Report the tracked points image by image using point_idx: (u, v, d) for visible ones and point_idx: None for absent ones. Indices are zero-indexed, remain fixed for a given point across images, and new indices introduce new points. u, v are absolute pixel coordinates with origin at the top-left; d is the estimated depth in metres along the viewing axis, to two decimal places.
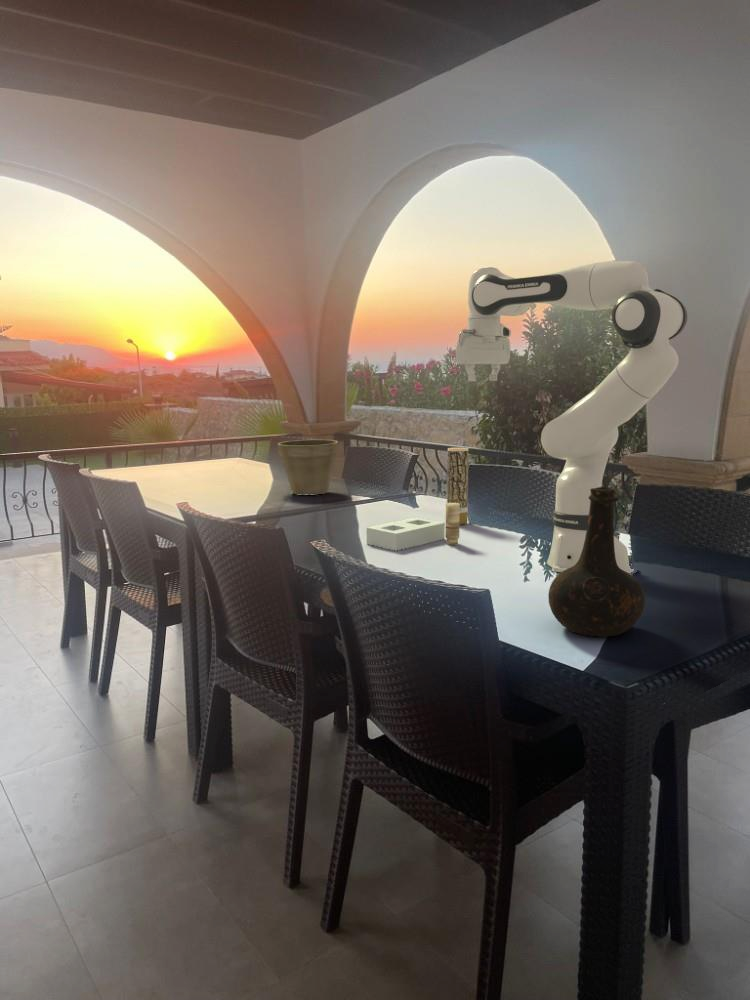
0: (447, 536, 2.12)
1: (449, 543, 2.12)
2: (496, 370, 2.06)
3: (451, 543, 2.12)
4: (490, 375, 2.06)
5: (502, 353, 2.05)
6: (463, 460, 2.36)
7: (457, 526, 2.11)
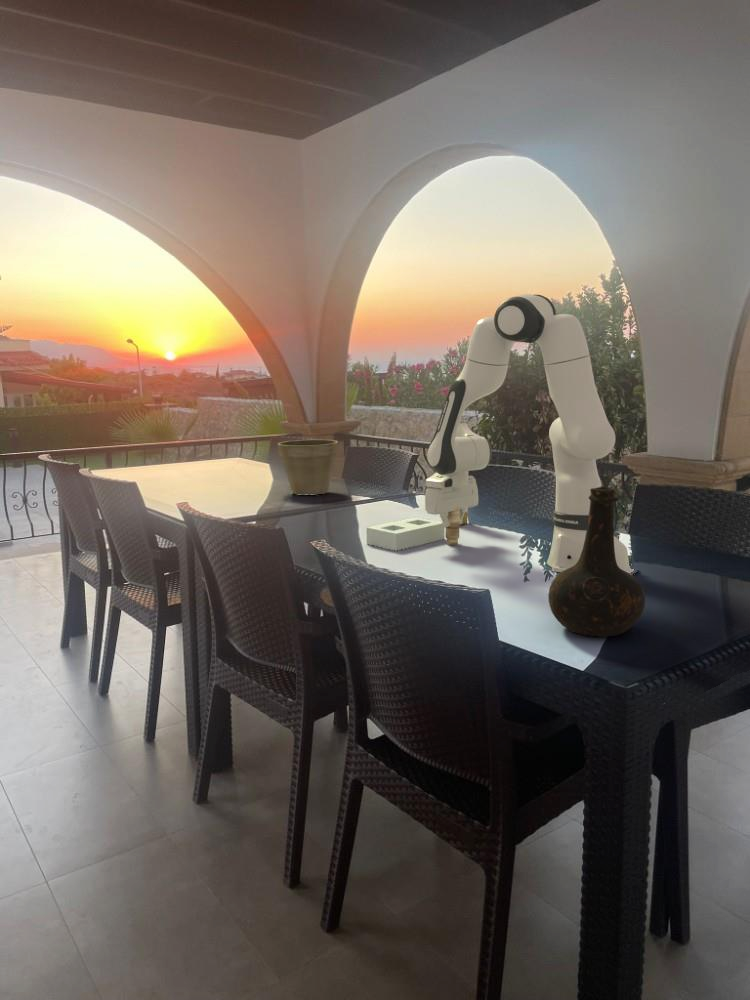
0: (447, 536, 2.12)
1: (449, 543, 2.12)
2: None
3: (451, 543, 2.12)
4: None
5: None
6: None
7: (457, 526, 2.11)
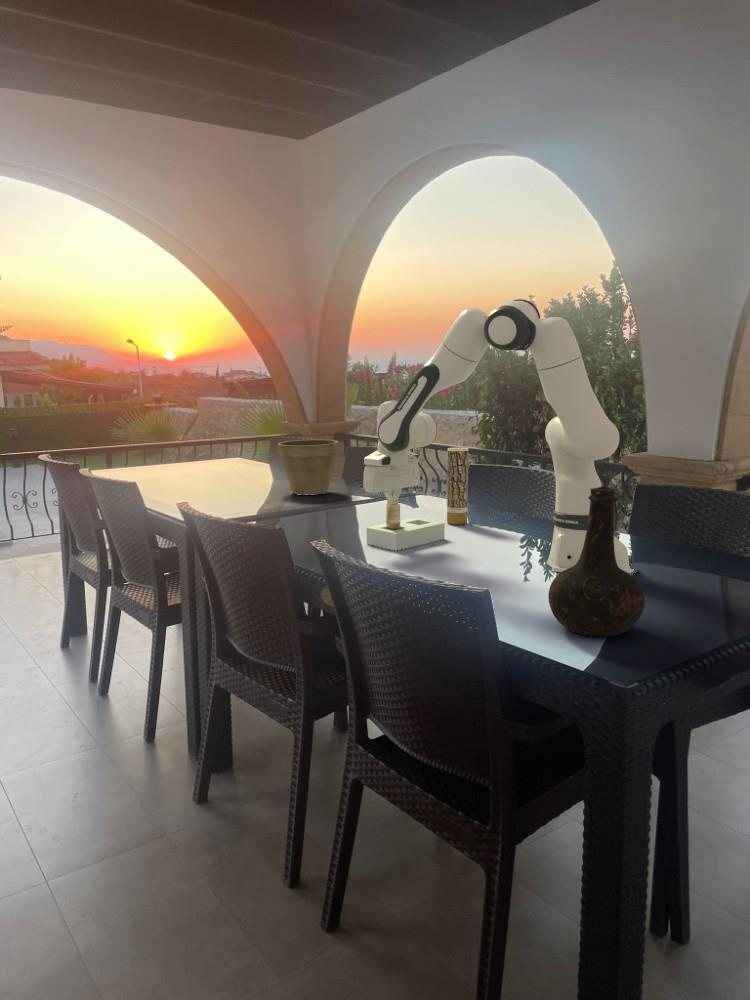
0: None
1: None
2: None
3: None
4: None
5: None
6: (463, 460, 2.36)
7: (397, 527, 2.11)
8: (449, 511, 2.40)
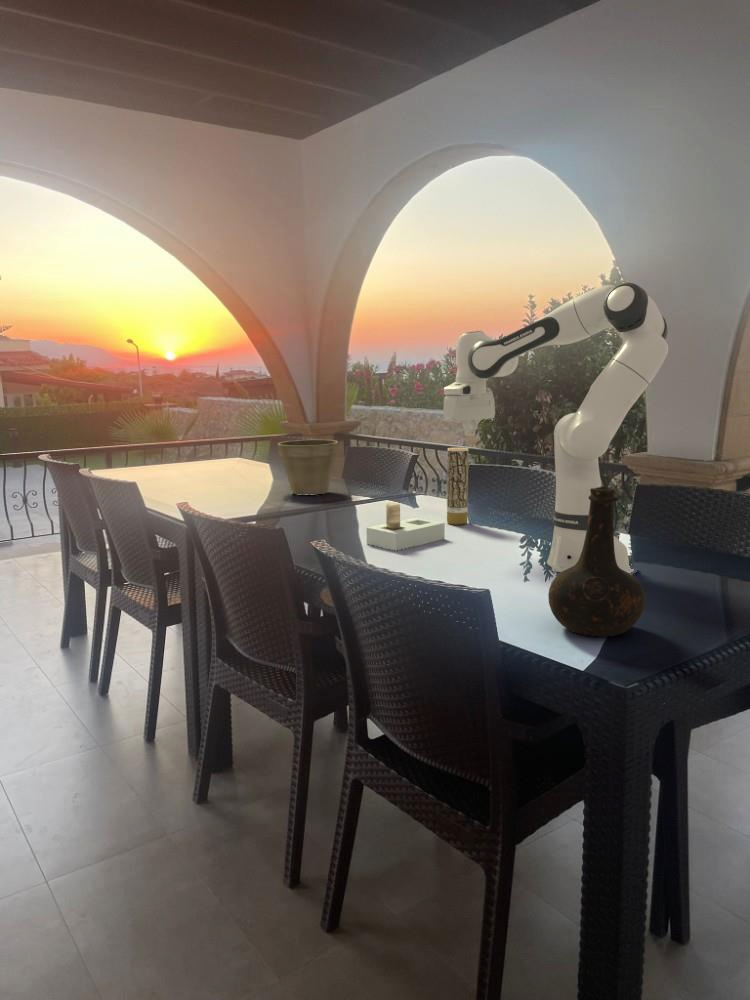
0: None
1: None
2: None
3: None
4: None
5: None
6: (463, 460, 2.36)
7: (397, 526, 2.11)
8: (449, 511, 2.40)
